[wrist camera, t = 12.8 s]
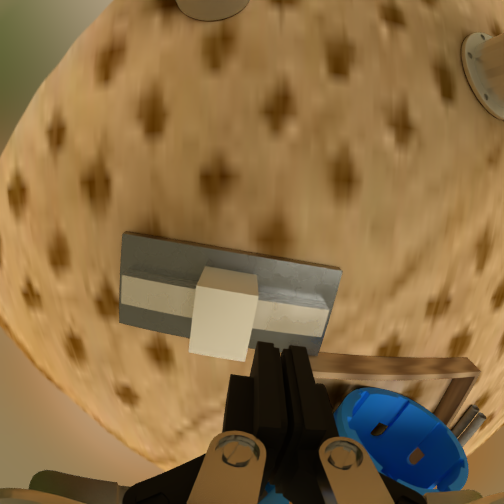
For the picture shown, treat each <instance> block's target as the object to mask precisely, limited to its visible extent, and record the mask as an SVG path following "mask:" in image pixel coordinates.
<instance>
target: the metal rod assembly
mask: <svg viewBox="0 0 504 504" xmlns="http://www.w3.org/2000/svg"><path fill="white" fill-rule="evenodd" d="M478 411H479V408H478V407H477V406H476V405H473V406H472V405H471V407H470V408H469V409H468V411H467V412H466V413H465V415H464V416H463V417H462V418H461V420H460V421H459V422H458V423H457V425H456V426H455V427H454V428H453V430H452V431H451V432H452V433H453V434H454V435H455V437H456V438H458V437H459V435H460V434H461V433H462V432H463V431H464V429H465V428H466V427H467V426H468V424H469V423H470V422H471V421H472V419H473V418H474V417H475V415H476V414H477V413H478ZM485 419H486V416H485V415H484V414H483V413H480V412H479V413H478V414H477V416H476V417H475V418H474V420H473V421H472V422H471V423H470V425H469V426H468V427H467V428H466V429H465V431H464V432H463V433H462V434H461V435H460V437H459V438H458V441H459V443H460V444H461V446H462V447H463V446H464V445H465V444H466V443H467V441H468V440H469V439H470V438H471V437H472V435H473V434H474V433H475V432H476V431H477V429H478V428H479V427H480V426H481V424H482V423H483V422H484V421H485Z"/></svg>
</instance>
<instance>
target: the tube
mask: <svg viewBox="0 0 504 504" xmlns="http://www.w3.org/2000/svg"><path fill="white" fill-rule="evenodd" d="M333 415H334V419H335V422H336V426H337V430H338V433H339V437H347V438H351V439H353V440H355V441H357V442H359V443H360V444H361V445H363V447H364V448H365V449H366V451H367V452H368V454H369V456H370V458H371V460H372V462H373V463H374V465H375V467H376V469H377V471H378V472H380V473H382V474H384V475H386V476H387V477H389V478H391V479H393V480H395V481H397V482H399V483H401V484H403V485H405V486H407V487H409V488H411V489H413V490H415V491H417V492H418V493H420V494H421V495H422V496H423V495H424V494H425V493H431V492H448V491H460V490H461V489H462V488H463V486H464V485H465V483H466V481H467V478H468V462H467V458H466V455H465V452H464V450H463V448H462V446H461V444H460V443H459V441H458V439H457V438H456V437H455V435H454V434H453V433H452V432H451V430H450V429H449V428H448V427H447V426H446V425H445V424H444V423H443V422H442V421H441V420H440V419H439V418H437V417H436V416H435V415H434V414H433V413H431V412H430V411H429V410H427V409H426V408H424V407H423V406H421V405H420V404H418V403H416V402H415V401H413V400H411V399H409V398H407V397H405V396H402V395H400V394H398V393H395V392H392V391H389V390H385V389H380V388H371V387H368V388H360V389H359V390H358V389H356V390H354V391H352V392H351V393H349V394H348V395H347V396H346V398H345V399H344V400H343V402H342V403H341V405H340V406H339V407H338V408H337V410H336V411H335V412H334V414H333ZM379 422H380V423H382V424H385V425H387V426H388V427H387V429H386V430H385V431H384V432H383V433H382V434H381V435H379V436H373V435H371V432H372V430H373V429H374V428H375V427H376V426H377V425H378V423H379ZM417 447H418V448H419V449H420V450H421V451H422V452H423V454H424V456H423V457H422V458H421V459H420V460H419V461H418V462H417V463H416V464H415V465H414V464H412V463H411V462H410V460H409V457H410V455H411V454H412V453H413V452H414V450H415V449H416V448H417ZM436 485H437V489H433V488H434V487H435V486H436ZM265 490H266V491H267V493H268V494H267V495H266V496H265V497H264V498H263V499H262V500H261V501H260V502H259V503H258V504H289V502H290V501H288V500H287V499H286V498H284V497H283V494H278V493H275V485H270V483H269V482H268V483H267V485H266V487H265Z"/></svg>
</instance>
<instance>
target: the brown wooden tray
mask: <svg viewBox="0 0 504 504" xmlns="http://www.w3.org/2000/svg"><path fill="white" fill-rule="evenodd" d="M308 357H309V361H310V364H311V368H312V372H313V376H314V378H327V379H346V380H432V379H450V378H453V380H452V382H451V384H450V386H449V388H448V389H447V391H446V393H445V395H444V397H443V398H442V400H441V402H440V403H439V405H438V407H437V409H436V410H435V412H434V415H435V416H436V417H437V418H439V419H440V420H441V421H442V422H443V423H444V424H445V425H446V426H447V427H449V425H450V424H451V422H452V421H453V419H454V417H455V416H456V414H457V413H458V411H459V410H460V408H461V406H462V405H463V403H464V401H465V400H466V398H467V396H468V394H469V393H470V391H471V389H472V387H473V386H474V384H475V382H476V380H477V378H478V376H479V374H480V372H481V371H480V370H479V369H478V368H477V367H476V366H475V365H474V364H473V363H472V362H471V361H470V360H469V359H468V358H402V357H377V356H359V355H345V354H332V353H321V352H319V353H318V356H311V355H308ZM423 456H424V454H423V452H422V451H421V450H420V449H419V448H418V447H417V448H416V449H415V450H414V452H413V453H412V454H411V455H410V457H409V460H410V462H411V463H412V464H414V465H415V464H416V463H417V462H418V461H419V460H420V459H421V458H422V457H423ZM267 494H268V493H267V491H266V490H264V491H263V494H262V496H260V497H259V498H258V502H257V504H258V503H259V502H260V501H261V500H262V499H263V498H264V497H265V496H266V495H267Z"/></svg>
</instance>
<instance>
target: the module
mask: <svg viewBox="0 0 504 504" xmlns="http://www.w3.org/2000/svg"><path fill="white" fill-rule="evenodd" d="M258 298H259V293H258V282H257V275H254V274H249V273H243V272H237V271H231V270H225V269H220V268H214V267H208V266H205V268H204V270H203V272H202V274H201V276H200V279H199V281H198V283H197V285H196V292H195V300H194V308H193V317H192V325H191V334H190V343H189V352H190V353H195V354H201V355H206V356H212V357H217V358H223V359H230V360H236V361H243V362H245V359H246V354H247V350H248V345H249V340H250V336H251V331H252V326H253V322H254V317H255V312H256V307H257V302H258Z"/></svg>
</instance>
